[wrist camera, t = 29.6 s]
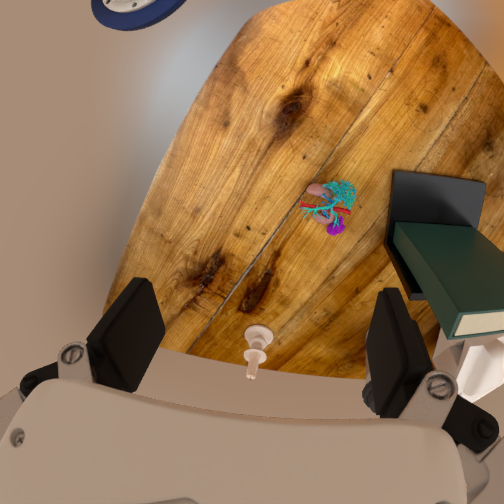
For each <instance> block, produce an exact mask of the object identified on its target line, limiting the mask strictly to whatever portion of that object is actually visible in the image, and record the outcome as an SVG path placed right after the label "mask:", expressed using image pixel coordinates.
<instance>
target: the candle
mask: <svg viewBox="0 0 504 504" xmlns="http://www.w3.org/2000/svg"><path fill="white" fill-rule="evenodd" d="M273 337H274V336H273V332H272V331H271V330H270V329H269V328H268V327H266V326H264V325H252V326H249V327H248V328H247V329H246V331H245V338H246V340H247V341H248V344H249V346H250V349H248V350H246V351H245V352H244V358H245V359H246V360H247V361H248V362H249V364H248V369H247V377H248V378H250V379H255V378H256V373H257V369H258V364H259V363H263V362H264V361H265V360H266V358H267V357H266V354H265V353H264V352H263V349H264V348H265V347H266V345H268V344H270V343H271V342H272V340H273Z"/></svg>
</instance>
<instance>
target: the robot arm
mask: <svg viewBox="0 0 504 504" xmlns="http://www.w3.org/2000/svg"><path fill="white" fill-rule="evenodd" d="M154 1H156V0H103V3H104V4H105V6H106V7H108V8H109V9H111V10H113V11H116V12H119V13H128V12H134V11H137V10H140V9H142V8H144V7H146V6H148V5H150V4H151V3H153V2H154ZM164 335H165V325H164V322H163V319H162V316H161V313H160V309H159V306H158V303H157V299H156V296H155V293H154V289H153V286H152V283H151V282H149V280H148V279H147V278H139V277H134V278H133V279H132V280H131V281H130V283H129V284H128V285H127V286H126V288H125V289H124V290H123V291H122V293H121V294H120V295H119V296H118V298H117V299H116V300H115V301H114V303H113V304H112V305H111V307H110V308H109V309H108V310H107V312H106V313H105V314H104V316H103V317H102V318H101V320H100V321H99V322H98V324H97V325H96V326H95V328H94V329H93V330H92V332H91V333H90V334H89V336H88V337H87V339H86V340H87V344H86V345H85V344H84V343H82V342H72V343H69V344H67V345H66V346H64V347H63V348H62V349H61V350H60V353H59V354H58V361H57V362H55V363H52V364H50V365H47V366H44V367H42V368H39V369H37V370H34V371H32V372H29V373H28V374H26V375H25V377H23V379H22V381H21V383H20V389H18V388H17V387H16V388H14V389H13V390H11V391H10V392H9V393H7V394H6V395H4V396H3V397H1V398H0V504H504V436H503V437H502V438H501V437H500V436H499V435H498V434H499V426H498V422H497V421H496V419H495V418H494V417H493V416H492V415H491V414H489V413H487V412H486V411H484V410H482V409H481V408H479V407H478V406H476V405H474V404H473V403H471V402H469V401H468V400H466V399H465V398H463V397H461V396H460V395H458V384H457V381H456V379H455V378H454V377H453V376H452V375H451V374H449V373H448V372H446V371H443V370H434V369H433V366H432V363H431V360H430V357H429V354H428V351H427V348H426V346H425V343H424V340H423V337H422V335H421V332H420V329H419V327H418V324H417V322H416V321H415V320H411V318H410V315H409V313H408V310H407V308H406V305H405V303H404V300H403V298H402V295H401V293H400V291H399V289H398V288H384V289H383V291H379V293H378V296H377V301H376V305H375V309H374V313H373V317H372V320H371V324H370V328H369V331H368V335H367V338H366V352H367V357H368V363H369V370H370V376H371V383H372V390H373V398H374V406H375V413H376V415H380V418H379V419H294V418H277V417H263V416H252V415H243V414H235V413H227V412H220V411H214V410H207V409H201V408H195V407H190V406H185V405H179V404H175V403H170V402H164V401H161V400H156V399H152V398H148V397H144V396H140V395H136V394H132V392H135V391H136V390H137V388H138V386H139V384H140V382H141V380H142V378H143V376H144V374H145V372H146V370H147V368H148V366H149V364H150V362H151V360H152V358H153V356H154V354H155V352H156V350H157V349H158V347H159V345H160V343H161V341H162V339H163V337H164ZM465 481H466V483H467V487H468V488H467V493H466V486H465Z"/></svg>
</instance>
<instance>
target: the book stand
mask: <svg viewBox="0 0 504 504" xmlns="http://www.w3.org/2000/svg"><path fill="white" fill-rule="evenodd" d="M485 189H486V183H485V182H483V181H477V180H471V179H465V178H459V177H452V176H446V175H438V174H431V173H422V172H414V171H404V170H394V169H393V173H392V184H391V194H390V203H389V211H388V218H387V226H386V232H385V239H384V247H385V249H386V251H387V253H388V255H389V258H390V260H391V262H392V264H393V266H394V268H395V270H396V272H397V274H398V276H399V279H400V281H401V283H402V285H403V287H404V290H405V292H406V294H407V296H408V299H409V300H410V301H412V300H427V299H426V297H425V295H424V293H423V292H422V290H421V288H420V286H419V284H418V283H417V281H416V279H415V277H414V276H413V274H412V272H411V271H410V269H409V267H408V265H407V264H406V262H405V260H404V259H403V257H402V256H401V254H400V252H399V251H398V249H397V248H396V246H395V244H394V243H393V237H394V230H395V223H396V222H409V223H425V224H440V225H453V226H466V227H474V228H476V229H477V228H478V224H479V220H480V215H481V210H482V206H483V201H484V195H485Z"/></svg>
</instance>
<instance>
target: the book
mask: <svg viewBox="0 0 504 504" xmlns="http://www.w3.org/2000/svg"><path fill="white" fill-rule="evenodd" d="M393 243H394V244H395V246H396V248H397V249H398V251H399V252H400V254H401V256H402V257H403V259H404V260H405V262H406V264H407V265H408V267H409V269H410V271H411V272H412V274H413V276H414V277H415V279H416V281H417V283H418V284H419V286H420V288H421V290H422V292H423V293H424V295H425V297H426V299H427V301H428V303H429V304H430V306H431V308H432V310H433V312H434V314H435V316H436V318H437V320H438V322H439V324H440V326H441V328H442V330H443V332H444V334H445V336H446V338H447V340H454V339H463V338H471V337H479V336H486V335H493V334H500V333H504V253H503V252H502V251H500V250H499V249H498V248H497V247H496V246H495V245H494V244H493V243H492V242H491V241H489V240H488V239H487V238H486V237H485V236H484V235H483V234H481V233H480V232H479V231H478V230H477V229H476V228H474V227H466V226H453V225H440V224H425V223H409V222H396V223H395V230H394V237H393Z"/></svg>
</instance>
